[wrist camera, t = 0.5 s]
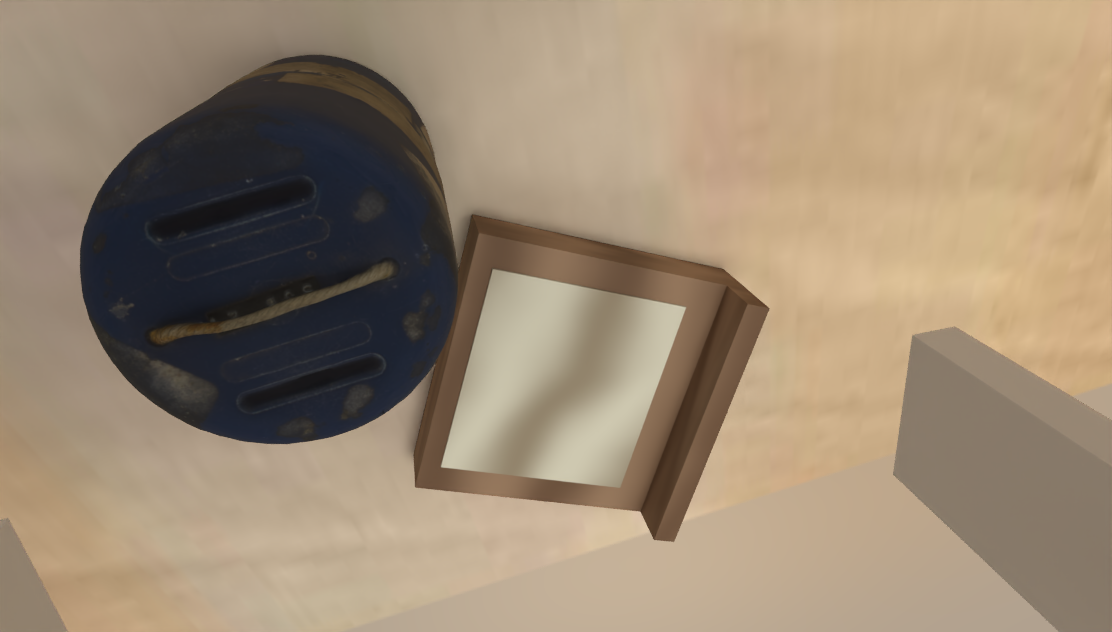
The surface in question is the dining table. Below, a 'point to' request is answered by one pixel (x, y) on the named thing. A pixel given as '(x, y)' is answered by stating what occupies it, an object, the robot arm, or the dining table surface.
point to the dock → (583, 374)
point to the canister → (276, 256)
